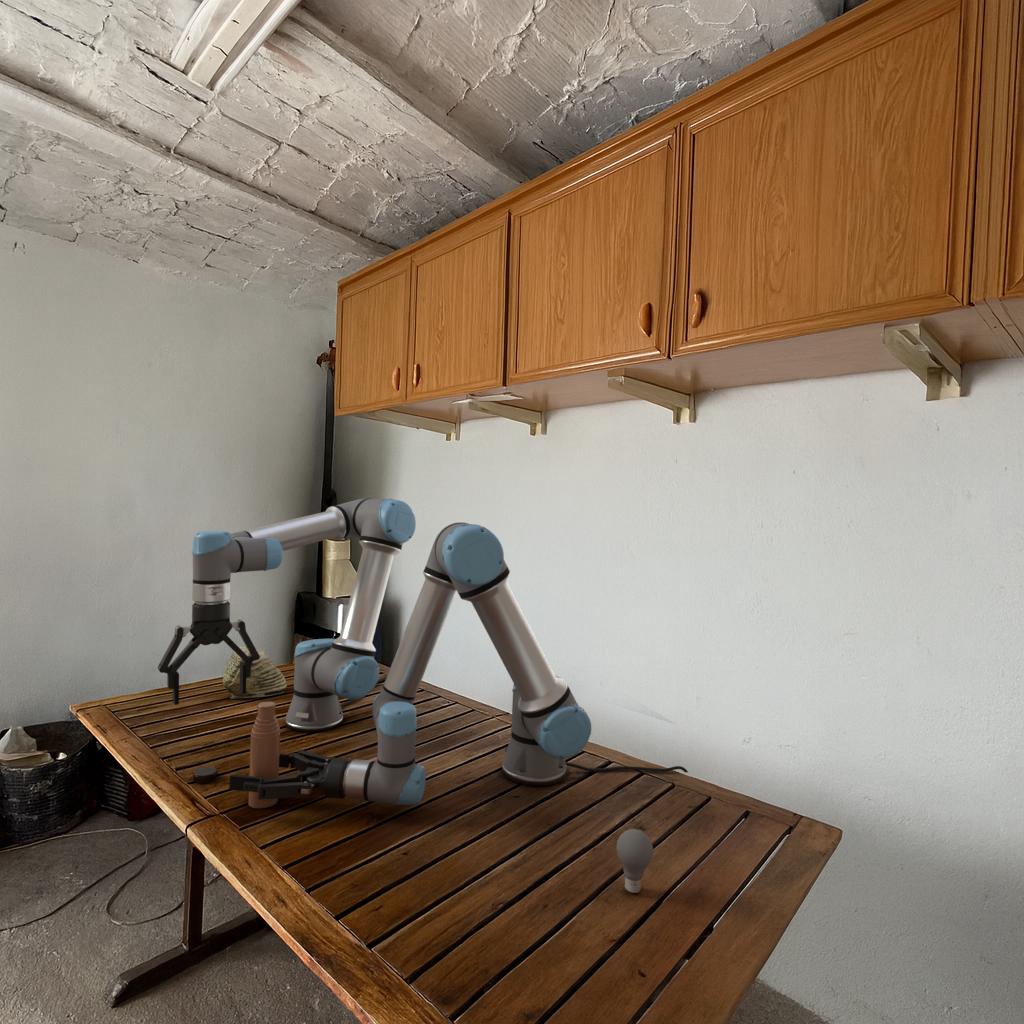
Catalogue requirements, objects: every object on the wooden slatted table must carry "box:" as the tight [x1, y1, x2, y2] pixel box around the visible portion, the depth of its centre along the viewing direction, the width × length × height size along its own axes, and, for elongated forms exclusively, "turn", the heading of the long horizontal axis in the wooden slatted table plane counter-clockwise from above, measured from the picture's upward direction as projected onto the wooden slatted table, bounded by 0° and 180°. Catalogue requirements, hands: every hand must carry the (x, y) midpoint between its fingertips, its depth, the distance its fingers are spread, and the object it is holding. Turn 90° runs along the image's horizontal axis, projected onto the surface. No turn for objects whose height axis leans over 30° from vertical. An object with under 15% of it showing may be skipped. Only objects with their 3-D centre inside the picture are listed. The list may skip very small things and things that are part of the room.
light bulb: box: [615, 828, 654, 894], centre depth 106 cm, size 6×6×10 cm
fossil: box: [222, 646, 288, 699], centre depth 198 cm, size 9×18×15 cm, turn 132°
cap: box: [193, 766, 218, 785], centre depth 140 cm, size 5×5×2 cm
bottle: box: [247, 701, 281, 809], centre depth 130 cm, size 6×6×20 cm
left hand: (210, 697), depth 140 cm, fingers open, 13 cm apart
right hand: (245, 769), depth 131 cm, fingers open, 11 cm apart
